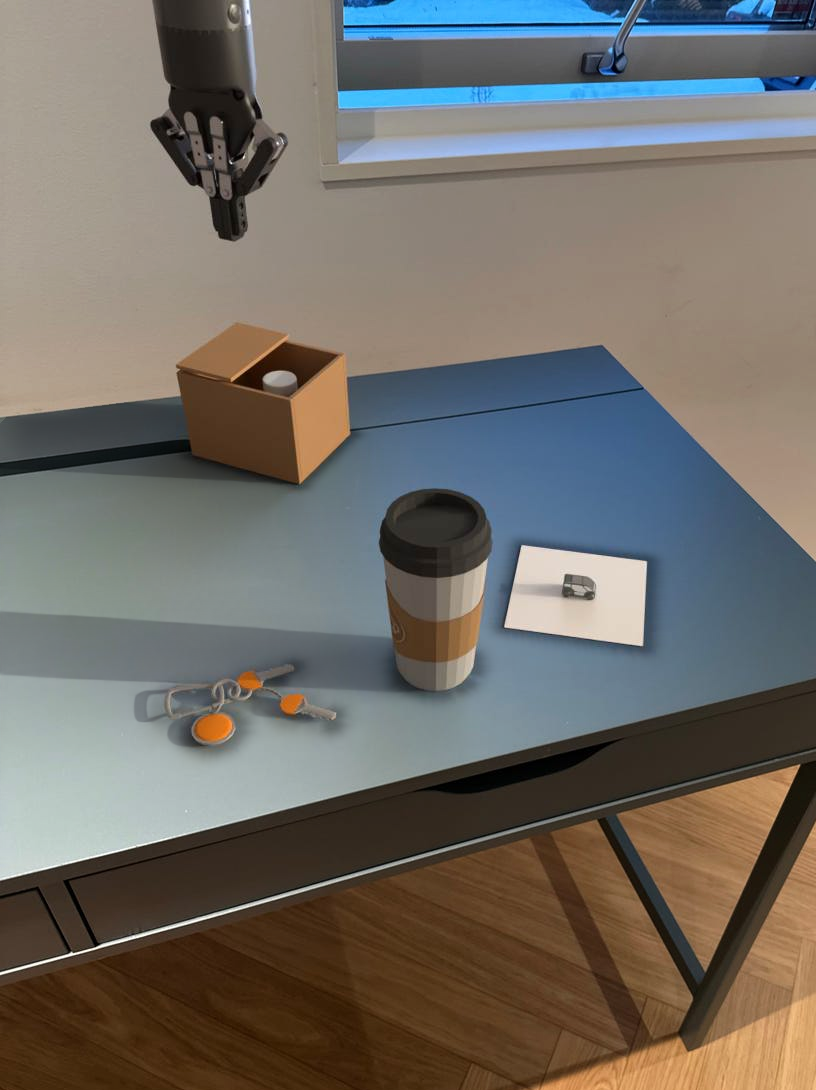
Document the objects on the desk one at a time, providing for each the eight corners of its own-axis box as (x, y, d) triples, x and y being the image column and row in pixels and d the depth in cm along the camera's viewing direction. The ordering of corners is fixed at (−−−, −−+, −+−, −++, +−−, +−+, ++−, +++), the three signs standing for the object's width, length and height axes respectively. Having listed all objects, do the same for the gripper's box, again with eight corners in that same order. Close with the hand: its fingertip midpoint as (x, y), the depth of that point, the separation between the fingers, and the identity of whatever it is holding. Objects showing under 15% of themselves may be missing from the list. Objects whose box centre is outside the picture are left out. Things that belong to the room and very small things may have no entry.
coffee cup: (374, 642, 79) (365, 493, 69) (468, 624, 81) (473, 477, 71) (398, 712, 73) (393, 560, 63) (499, 690, 75) (510, 541, 65)
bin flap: (176, 368, 93) (175, 364, 92) (237, 325, 100) (236, 322, 100) (231, 382, 91) (230, 378, 91) (289, 337, 98) (288, 334, 98)
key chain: (166, 753, 69) (164, 746, 69) (164, 684, 74) (162, 677, 74) (338, 725, 72) (337, 718, 71) (325, 660, 77) (324, 653, 76)
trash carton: (192, 455, 99) (175, 372, 93) (249, 408, 107) (237, 328, 100) (299, 484, 96) (290, 400, 90) (350, 434, 104) (345, 353, 97)
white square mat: (642, 646, 80) (645, 633, 79) (504, 627, 81) (505, 614, 80) (646, 561, 89) (649, 548, 88) (521, 545, 90) (522, 532, 89)
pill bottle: (307, 455, 99) (300, 388, 94) (264, 455, 99) (255, 388, 93) (308, 433, 102) (302, 367, 97) (268, 434, 102) (259, 368, 97)
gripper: (299, 19, 76) (315, 238, 88) (162, -1, 79) (195, 213, 91) (249, 34, 71) (272, 265, 82) (104, 13, 74) (147, 237, 86)
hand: (231, 237), depth 87 cm, fingers closed
